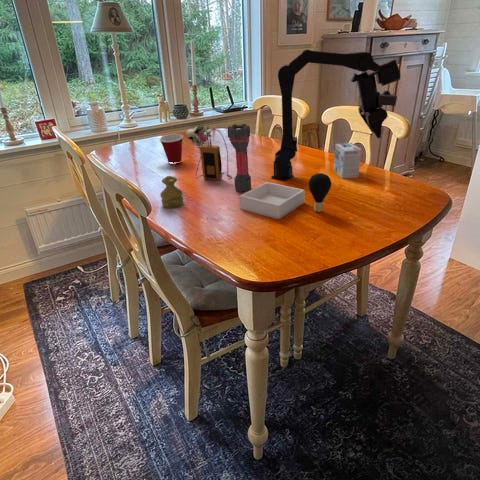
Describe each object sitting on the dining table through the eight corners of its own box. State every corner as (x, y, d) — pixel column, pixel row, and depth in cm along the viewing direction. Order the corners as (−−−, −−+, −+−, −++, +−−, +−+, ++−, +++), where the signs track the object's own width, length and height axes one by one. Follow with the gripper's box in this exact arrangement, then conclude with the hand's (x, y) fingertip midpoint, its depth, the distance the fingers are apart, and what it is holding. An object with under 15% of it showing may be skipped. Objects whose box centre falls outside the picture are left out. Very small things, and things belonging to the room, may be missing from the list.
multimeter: (238, 173, 149) (235, 123, 139) (227, 181, 141) (223, 129, 132) (207, 170, 155) (202, 122, 145) (195, 178, 147) (189, 128, 137)
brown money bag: (174, 210, 120) (169, 181, 115) (157, 206, 123) (152, 178, 118) (188, 202, 125) (184, 174, 120) (172, 199, 129) (167, 171, 124)
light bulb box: (333, 170, 146) (335, 143, 141) (349, 168, 147) (351, 142, 142) (341, 178, 137) (344, 150, 132) (359, 177, 137) (362, 149, 132)
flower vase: (198, 150, 215) (216, 149, 184) (178, 146, 211) (192, 145, 179) (201, 129, 213) (219, 125, 181) (180, 125, 209) (195, 121, 177)
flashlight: (237, 195, 128) (233, 129, 117) (228, 189, 134) (223, 125, 123) (256, 190, 131) (254, 125, 120) (246, 184, 137) (243, 122, 126)
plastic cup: (158, 165, 165) (154, 139, 160) (171, 159, 174) (167, 133, 168) (179, 167, 162) (175, 140, 156) (190, 160, 170) (187, 134, 165)
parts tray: (240, 208, 118) (239, 195, 116) (267, 194, 128) (266, 181, 126) (278, 219, 109) (278, 205, 107) (304, 202, 119) (304, 189, 117)
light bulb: (329, 216, 109) (332, 178, 103) (306, 215, 111) (308, 177, 105) (329, 207, 115) (331, 170, 109) (307, 206, 116) (309, 170, 111)
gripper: (400, 85, 114) (407, 133, 121) (385, 79, 130) (392, 122, 137) (364, 98, 117) (372, 144, 123) (354, 90, 133) (362, 131, 140)
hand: (376, 134), depth 131 cm, fingers open, 9 cm apart
